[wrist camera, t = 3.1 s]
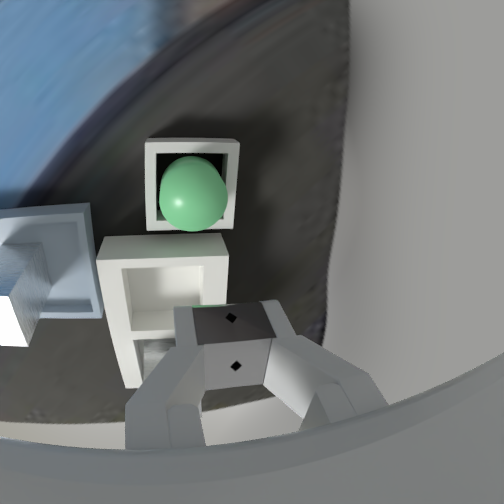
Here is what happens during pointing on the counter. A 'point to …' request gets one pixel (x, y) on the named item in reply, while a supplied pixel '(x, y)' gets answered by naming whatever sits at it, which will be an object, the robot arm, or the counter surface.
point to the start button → (192, 194)
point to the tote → (61, 255)
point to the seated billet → (157, 355)
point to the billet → (22, 291)
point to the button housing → (190, 145)
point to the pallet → (156, 288)
